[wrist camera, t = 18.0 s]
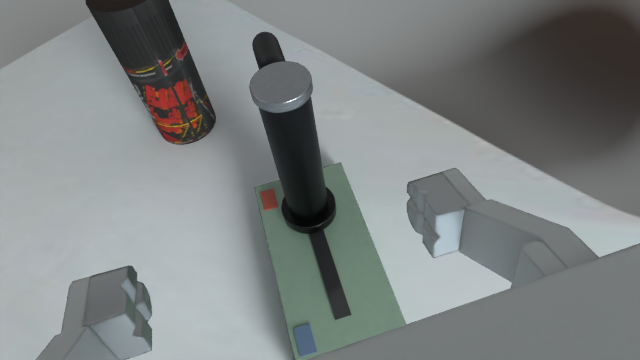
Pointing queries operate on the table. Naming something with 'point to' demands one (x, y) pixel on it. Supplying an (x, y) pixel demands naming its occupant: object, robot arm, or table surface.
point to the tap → (292, 136)
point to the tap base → (328, 273)
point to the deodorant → (157, 65)
